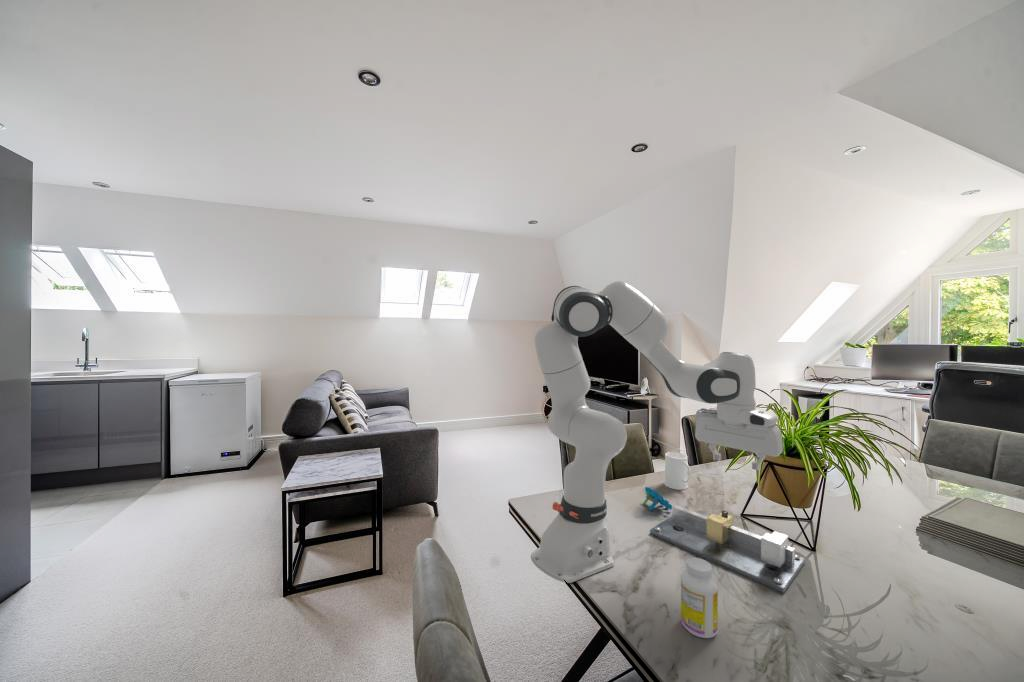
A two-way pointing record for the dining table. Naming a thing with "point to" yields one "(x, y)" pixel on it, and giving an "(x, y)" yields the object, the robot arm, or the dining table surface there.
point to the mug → (676, 471)
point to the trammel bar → (744, 538)
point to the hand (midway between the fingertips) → (736, 464)
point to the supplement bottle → (699, 599)
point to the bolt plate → (728, 555)
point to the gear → (655, 499)
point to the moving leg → (719, 527)
